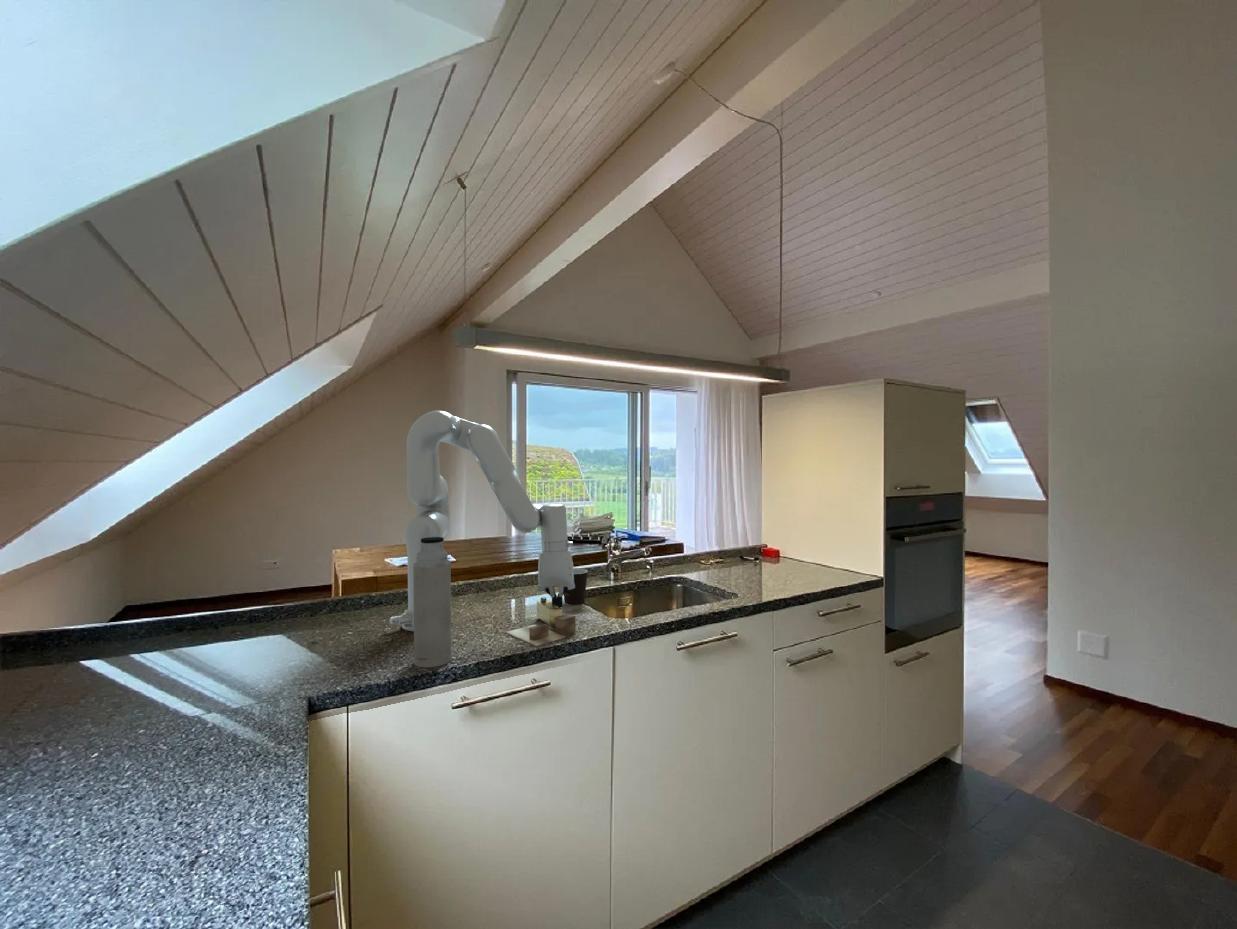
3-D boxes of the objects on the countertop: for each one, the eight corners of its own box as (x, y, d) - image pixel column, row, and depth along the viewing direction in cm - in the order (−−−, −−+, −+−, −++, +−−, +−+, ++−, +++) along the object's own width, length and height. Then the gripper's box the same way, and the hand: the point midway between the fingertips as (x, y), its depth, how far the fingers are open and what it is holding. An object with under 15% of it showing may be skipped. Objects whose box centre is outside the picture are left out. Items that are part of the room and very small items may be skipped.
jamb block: (562, 636, 131) (562, 619, 131) (555, 633, 133) (555, 617, 133) (575, 632, 134) (575, 615, 134) (568, 630, 136) (568, 613, 136)
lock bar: (564, 626, 138) (563, 606, 138) (553, 628, 136) (552, 608, 136) (546, 614, 149) (546, 596, 149) (536, 616, 147) (536, 597, 147)
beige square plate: (536, 646, 124) (536, 645, 124) (506, 633, 134) (506, 632, 134) (581, 632, 134) (581, 631, 134) (550, 621, 144) (550, 620, 144)
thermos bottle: (406, 663, 114) (405, 538, 114) (435, 652, 121) (434, 534, 121) (430, 670, 110) (429, 541, 110) (458, 658, 117) (457, 536, 117)
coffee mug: (586, 605, 160) (586, 574, 160) (559, 606, 160) (559, 574, 160) (589, 596, 171) (589, 566, 172) (564, 596, 172) (563, 567, 172)
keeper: (533, 642, 127) (533, 629, 127) (529, 640, 128) (529, 627, 128) (548, 637, 130) (548, 625, 130) (544, 636, 132) (544, 623, 132)
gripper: (580, 543, 151) (583, 604, 151) (530, 546, 150) (533, 608, 150) (580, 547, 144) (583, 612, 144) (527, 550, 143) (530, 615, 143)
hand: (557, 609), depth 147 cm, fingers closed
